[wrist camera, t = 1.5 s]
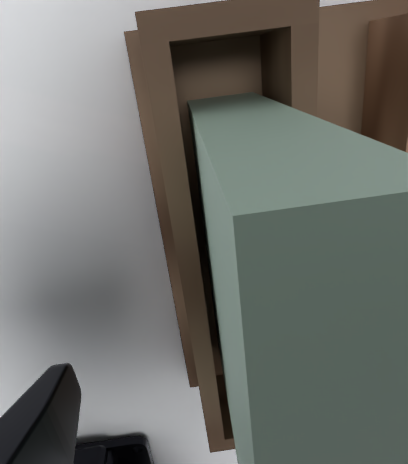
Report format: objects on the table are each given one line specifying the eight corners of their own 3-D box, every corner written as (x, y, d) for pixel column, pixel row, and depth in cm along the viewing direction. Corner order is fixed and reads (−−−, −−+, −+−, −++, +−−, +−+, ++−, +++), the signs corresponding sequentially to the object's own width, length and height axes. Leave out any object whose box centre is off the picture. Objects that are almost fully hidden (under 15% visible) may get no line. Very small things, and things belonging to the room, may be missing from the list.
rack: (436, 334, 17) (506, 406, 14) (189, 371, 17) (194, 454, 13) (513, -19, 11) (676, -56, 8) (127, 30, 11) (105, 15, 7)
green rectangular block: (265, 341, 15) (371, 657, 7) (219, 348, 15) (272, 673, 7) (252, 91, 11) (479, 181, 3) (187, 100, 11) (233, 215, 3)
